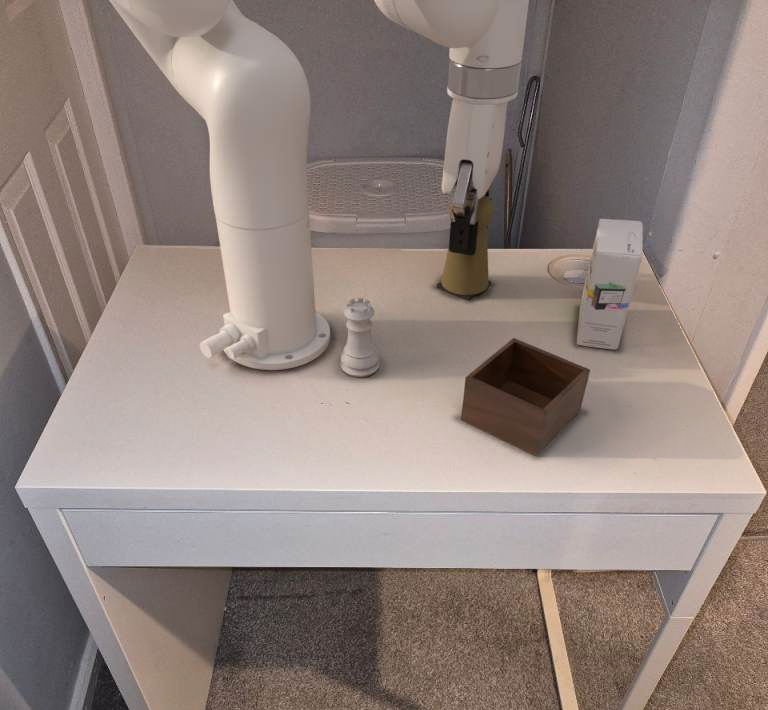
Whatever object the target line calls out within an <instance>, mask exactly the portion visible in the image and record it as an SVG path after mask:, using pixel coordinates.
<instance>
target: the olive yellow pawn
mask: <svg viewBox="0 0 768 710" xmlns="http://www.w3.org/2000/svg"><path fill="white" fill-rule="evenodd" d="M469 194H475V193H469ZM489 198H490V197H486V196H483V197H482V198H480V199H479V206H478V212H477V218H476V221H478V222H479V225H478V235H477V245H476V252H475V254H474V255H465V254H459V253H453V252H450V251H449V246H448V249H447V252H446V258H445V263H444V267H443V270H442V271H443V272H442V276H441V277H442V278H441V281H440V282H441V283H442V286H443V287H444V288H445V289H446V290H448V291H450V292H452V293H456V294H461V295H474V294H477V295H479V294H480V293H483V292H485V291H486V290H487V289H488V288H489V286H488V281H489V247H488V229H487V226H488V227H489V225H490V224H491V223H492V220H493V216H494V205H493V202H492V200H491V201H490V199H489ZM472 204H473V200H467V206H470V209H471V210H472ZM452 205H453V200H452V201H451V204H450V207H449V219H450V220H451V215H452ZM478 293H479V294H478Z"/></svg>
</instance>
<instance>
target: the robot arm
mask: <svg viewBox="0 0 768 710" xmlns="http://www.w3.org/2000/svg"><path fill="white" fill-rule="evenodd" d="M108 1H109V3H110V4H111V5H112V7H113V8H114V9H115V10H116V12H117V13H118V15H119V16H120V17H121V19H122V20H123V21H124V23H125V24H126V25H127V27H128V28H129V29H130V30H131V32H132V33H133V35H134V36H135V38H137V40H138V42H139V43H140V44H141V46H142V47H143V48H144V50H145V51H146V52H147V54H148V55H149V56H150V57H151V59H152V60H153V61H154V64H156V66H157V67H158V69H159V70H160V72H162V73H163V75H164V76H165V77H166V79H167V80H168V81H169V83H170V84H171V85H172V87H173V88H174V89H175V91H176V92H177V93H178V94H179V95H180V96H181V97H182V99H184V101H186V103H188V104H189V105H190V106H191V107H192V108H193V109H194V110H195V111H196V112H197V113H198V114H199V116H200V117H201V118H202V119H203V120H204V121H205V124H206V127H207V130H208V137H209V183H210V191H211V192H210V193H211V199H212V203H213V204H212V205H213V210H214V211H213V212H214V217H215V222H216V229H217V234H218V242H219V248H220V254H221V261H222V268H223V273H224V280H225V287H226V293H227V299H228V306H229V311H228V312H226V313H224V314H223V315H222V317H223V323H224V324H223V326H221V327H220V328H219V332H218V333H216V334H213V335H211V336H209V337H208V338H206V339H204V340H203V341H201V342H199V350H200V351H201V354H203V356H204V357H205V358H207V359H212V358H214V357H215V356H216V355H219V354H220V353H222V352H224V354H225V355H226V356H227V358H228V359H230V360H232V361H234V362H235V363H238V364H239V365H242V366H243V367H247V368H250V369H255V370H261V371H280V370H281V371H283V370H287V369H293V368H296V367H300V366H304V365H306V364H308V363H310V362H312V361H314V360H315V359H317V358H319V357H321V355H322V354H323V353H324V352H325V351H326V350H327V348H328V347H329V345H330V342H331V327H330V324H329V322H328V320H327V319H326V318H325V316H323V315H322V314H321V313H319V312H318V311H316V301H315V284H314V283H315V282H314V267H313V251H312V235H311V222H310V207H309V205H310V204H309V191H308V190H309V189H308V188H309V187H308V143H309V142H308V141H309V131H310V123H311V122H310V121H311V108H312V107H311V106H312V105H311V92H310V87H309V82H308V79H307V77H306V73H305V70H304V68H303V66H302V65H301V63H300V60H298V58H297V56H296V55H295V53H294V52H293V50H292V49H290V47H289V46H288V45H287V44H286V43H285V42H284V41H283V40H282V39H280V38H279V37H278V36H277V35H275V34H273V33H272V32H270V31H269V30H267V29H266V28H264V27H263V26H261V25H260V24H259V23H256V22H255V21H253V20H251V19H249V18H247V16H244V15H243V14H242V12H241V10H240V9H239V8H238V6H237V5H236V3H235V1H234V0H108ZM373 1H374V3H375V5H376V6H377V8H378V9H379V11H380V12H381V13H382V14H383V15H384V16H385V17H386V18H387V19H388V20H390V21H392V22H393V23H395V24H396V25H398V26H401V27H402V28H404V29H407V30H409V31H411V32H413V33H416V34H419V35H420V36H421V37H422V36H423V37H424V38H425V39H428V40H430V41H432V42H434V43H436V44H437V45H439V46H441V47H445V48H448V49H449V53H448V54H449V55H448V70H447V86H446V94H447V95H448V96H449V97H450V98H452V101H451V107H450V113H449V119H448V125H447V133H446V141H445V148H444V149H445V150H444V158H443V159H444V160H443V167H442V169H443V170H442V177H441V178H442V179H441V192H442V194H443V195H445V196H447V195H448V194H449V195H450V194H451V193H452V192H453V190H454V196H453V199H452V201H453V205H452V215H451V219H450V226H449V241H448V247H449V251H450V252H453V253H459V254H465V255H474V254H475V252H476V245H477V235H478V225H479V222H478V221H476V218H477V212H478V206H479V199H480V198H482V197H483V196H486V197H488V198H489V199H490V201H491V202H492V198H491V196H492V191H493V181H494V180H495V178H496V176H497V174H498V172H499V169H500V165H501V161H502V154H503V148H504V147H503V146H504V141H505V139H504V138H505V130H506V122H507V121H506V120H507V106H508V103H509V102H511V101H513V100H515V99H516V98H517V97H518V95H519V87H520V86H519V85H520V77H521V69H522V60H523V54H524V53H523V52H524V45H525V37H526V36H525V35H526V27H527V19H528V12H529V5H530V0H373ZM469 193H475V194H469ZM467 200H473V204H472V210H471V209H470V206H467ZM488 229H489V225H488V226H487V230H488Z"/></svg>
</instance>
